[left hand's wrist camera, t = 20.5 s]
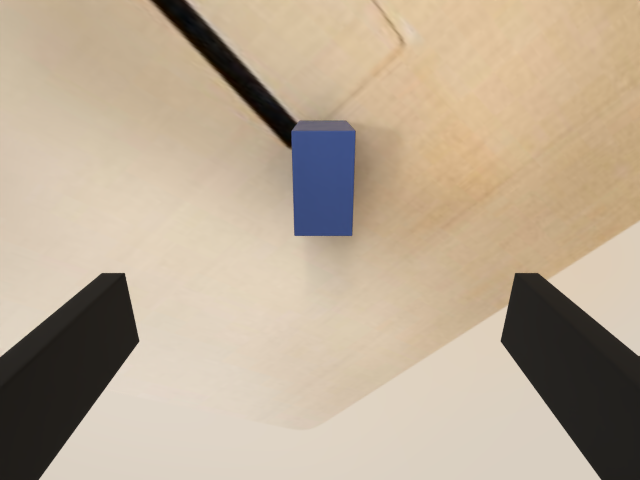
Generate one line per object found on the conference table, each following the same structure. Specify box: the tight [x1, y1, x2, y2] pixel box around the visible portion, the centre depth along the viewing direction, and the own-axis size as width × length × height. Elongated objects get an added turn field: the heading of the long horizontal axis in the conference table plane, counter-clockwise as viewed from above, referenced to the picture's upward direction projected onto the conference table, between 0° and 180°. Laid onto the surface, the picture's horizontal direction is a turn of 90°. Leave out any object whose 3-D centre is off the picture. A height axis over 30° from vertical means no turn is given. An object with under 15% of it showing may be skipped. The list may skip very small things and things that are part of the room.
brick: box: [292, 121, 356, 236], centre depth 36 cm, size 9×5×11 cm, turn 0°
